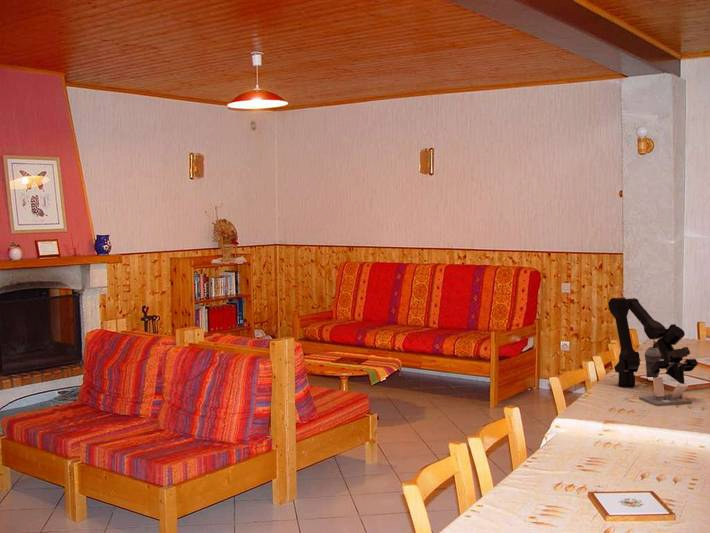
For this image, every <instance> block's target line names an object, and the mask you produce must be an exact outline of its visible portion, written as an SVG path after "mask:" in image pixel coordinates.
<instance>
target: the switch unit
mask: <svg viewBox="0 0 710 533" xmlns="http://www.w3.org/2000/svg"><path fill="white" fill-rule="evenodd" d="M664 394H665V398H656V395H655V393H654V394H652V395H646V396H639V398H638V399H639V400H640V401H642V402H645V403H648V404H650V405H653V406H656V407H662V406H663V407H664V406H676V405H677V406H678V405H690V404H692V405H693V401H692V400H689V399H687V398H683V393H682V394H681V396H680V397H671V393H664Z"/></svg>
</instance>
